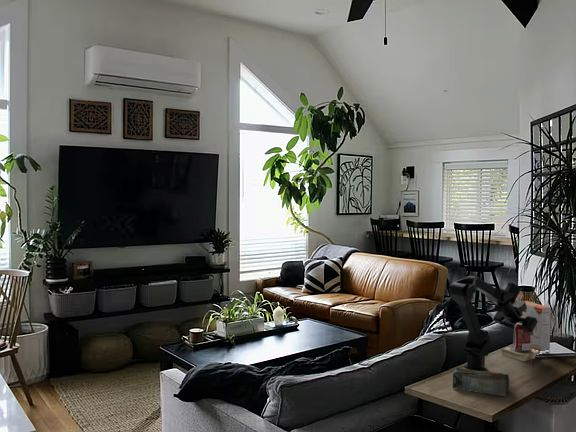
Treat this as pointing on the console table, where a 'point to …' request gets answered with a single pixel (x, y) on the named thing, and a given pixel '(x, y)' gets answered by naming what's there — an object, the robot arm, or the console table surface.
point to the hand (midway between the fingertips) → (523, 331)
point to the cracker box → (539, 325)
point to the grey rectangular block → (481, 381)
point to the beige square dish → (519, 353)
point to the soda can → (521, 339)
